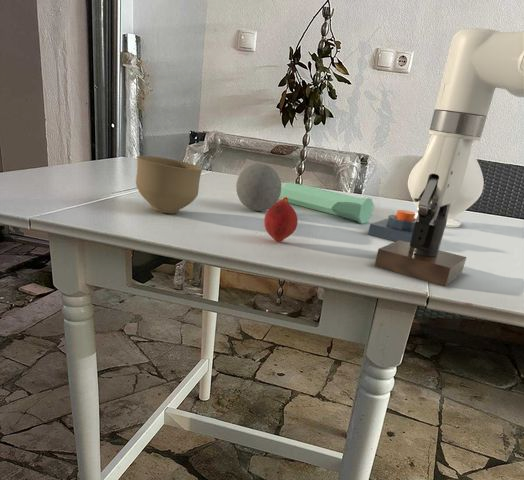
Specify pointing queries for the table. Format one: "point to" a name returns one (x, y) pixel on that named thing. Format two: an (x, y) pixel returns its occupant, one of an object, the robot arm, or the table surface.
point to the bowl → (167, 183)
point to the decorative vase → (468, 190)
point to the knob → (436, 241)
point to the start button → (405, 215)
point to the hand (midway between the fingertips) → (424, 244)
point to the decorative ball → (258, 187)
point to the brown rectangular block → (420, 263)
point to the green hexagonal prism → (328, 201)
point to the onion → (280, 220)
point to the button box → (393, 229)
